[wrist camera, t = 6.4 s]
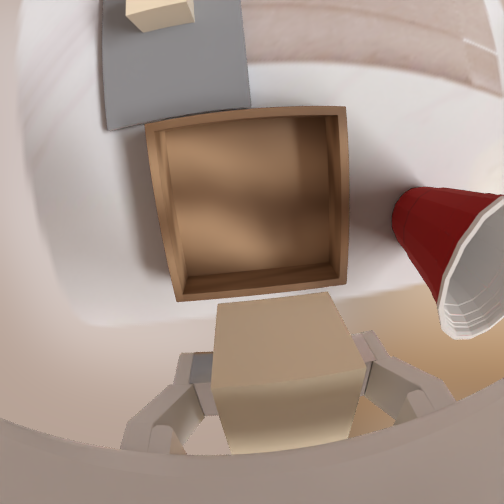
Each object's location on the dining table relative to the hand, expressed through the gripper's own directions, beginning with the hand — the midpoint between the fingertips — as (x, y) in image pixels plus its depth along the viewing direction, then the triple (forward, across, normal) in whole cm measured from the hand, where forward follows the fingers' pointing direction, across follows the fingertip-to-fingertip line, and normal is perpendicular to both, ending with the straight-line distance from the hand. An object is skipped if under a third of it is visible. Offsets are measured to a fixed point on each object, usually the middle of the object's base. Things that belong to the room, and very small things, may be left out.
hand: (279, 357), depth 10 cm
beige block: (+1, 0, 0) cm, 1 cm away
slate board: (+15, +5, -17) cm, 23 cm away
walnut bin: (+15, 0, -3) cm, 15 cm away
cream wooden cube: (+14, +5, -19) cm, 24 cm away
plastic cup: (+15, -15, 0) cm, 21 cm away
